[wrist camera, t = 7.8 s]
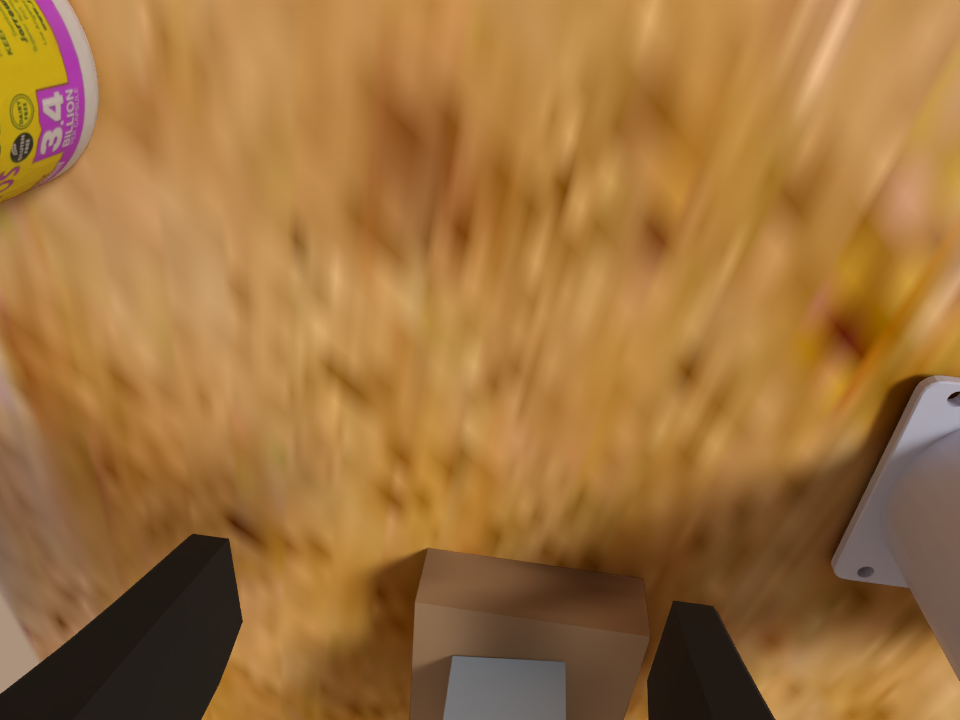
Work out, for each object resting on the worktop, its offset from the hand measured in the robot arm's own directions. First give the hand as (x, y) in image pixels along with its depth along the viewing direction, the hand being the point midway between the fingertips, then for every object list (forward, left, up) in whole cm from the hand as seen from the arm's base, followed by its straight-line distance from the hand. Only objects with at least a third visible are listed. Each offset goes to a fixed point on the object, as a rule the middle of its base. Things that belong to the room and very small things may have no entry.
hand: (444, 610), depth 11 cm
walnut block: (-2, +14, -11) cm, 18 cm away
